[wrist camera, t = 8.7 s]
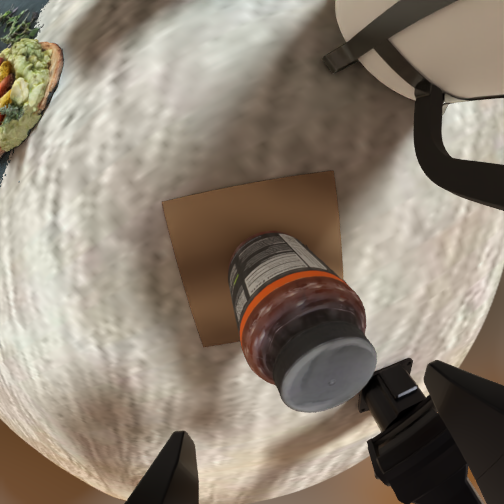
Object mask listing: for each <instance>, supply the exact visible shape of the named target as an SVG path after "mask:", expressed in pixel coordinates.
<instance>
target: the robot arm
mask: <svg viewBox="0 0 504 504" xmlns="http://www.w3.org/2000/svg"><path fill="white" fill-rule="evenodd" d="M412 363H413V360H412V359H411V358H408V359H405V360H403V361H401V362H399V363H396V364H394V365H392V366H389V367H387V368H384V369H382V370H379V371H377V372H374V373H373V375H372V377H371V378H370V380H369V381H368V383H367V384H366V385H365V386H364V387H363V389H362V390H361V391H360V397H359V406H358V410H359V412H360V413H362V412H365V411H367V410H370V412H371V414H372V415H373V417H374V419H375V421H376V423H377V425H378V427H379V428H380V430H381V433H380V434H378V435H377V436H375V437H374V438H371V439H370V440H368V441H367V444H368V450H369V454H370V457H371V461H372V464H373V468H374V472H375V477H376V479H380V480H381V481H382V482H383V483H384V484H385V485H387V486H391V487H392V489H393V490H394V492H395V494H396V496H397V498H398V500H399V501H400V502H402V503H404V504H410V503H415V504H484V503H483V501H482V500H481V498H480V496H479V495H478V493H477V491H476V490H475V488H474V487H473V485H472V483H471V482H470V480H469V479H468V477H467V474H468V466H469V468H470V470H471V472H472V474H473V476H474V478H475V479H476V482H477V484H478V486H479V488H480V490H481V493H482V495H483V497H484V499H485V501H486V503H487V504H504V386H503V385H500V384H498V383H495V382H493V381H490V380H487V379H484V378H482V377H479V376H477V375H474V374H472V373H469V372H467V371H464V370H461V369H459V368H457V367H454V366H452V365H449V364H447V363H444V362H442V361H439V360H435V361H433V362H431V363H429V364H428V365H427V368H426V372H425V375H424V383H425V385H426V388H427V390H428V392H429V394H430V395H429V396H427V397H425V395H424V394H423V393H422V391H421V390H420V389H419V387H418V385H417V384H416V382H415V381H414V380H413V379H412V377H411V376H410V372H411V367H412ZM437 412H438V413H437ZM127 500H128V501H126V502H125V503H124V504H199V480H198V470H197V461H196V451H195V444H194V442H193V440H192V439H191V438H190V436H189V435H188V433H187V432H186V431H175V432H173V434H172V435H171V437H170V438H169V440H168V441H167V443H166V444H165V446H164V447H163V449H162V450H161V452H160V453H159V455H158V456H157V458H156V459H155V460H154V462H153V463H152V465H151V466H150V468H149V469H148V471H147V472H146V474H145V475H144V476H143V478H142V479H141V481H140V482H139V484H138V485H137V486H136V488H135V489H134V491H133V492H132V494H131V495H130V496H129V498H128V499H127Z"/></svg>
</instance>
